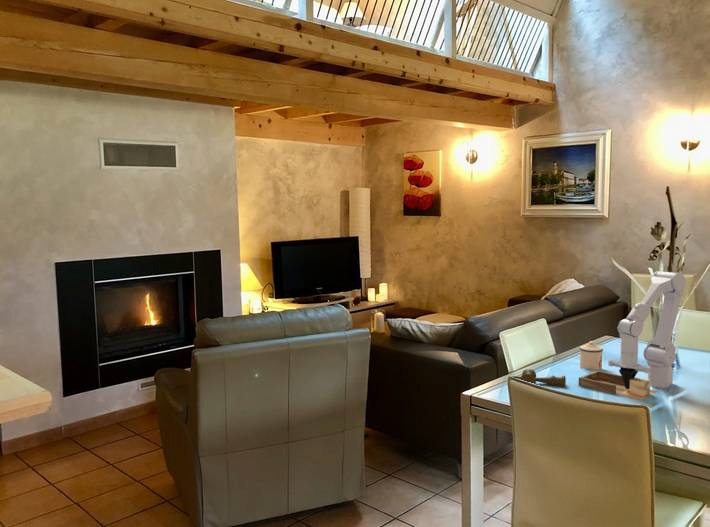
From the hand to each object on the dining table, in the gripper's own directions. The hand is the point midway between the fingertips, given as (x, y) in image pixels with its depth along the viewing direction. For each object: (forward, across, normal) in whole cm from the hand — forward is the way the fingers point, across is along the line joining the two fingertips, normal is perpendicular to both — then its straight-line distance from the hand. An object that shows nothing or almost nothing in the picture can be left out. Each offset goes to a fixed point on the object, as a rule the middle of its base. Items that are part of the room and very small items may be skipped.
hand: (628, 388), depth 216 cm
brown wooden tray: (+2, -4, 0) cm, 5 cm away
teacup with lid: (+2, -27, +22) cm, 35 cm away
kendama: (+2, -27, -16) cm, 32 cm away
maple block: (+1, +4, 0) cm, 4 cm away
